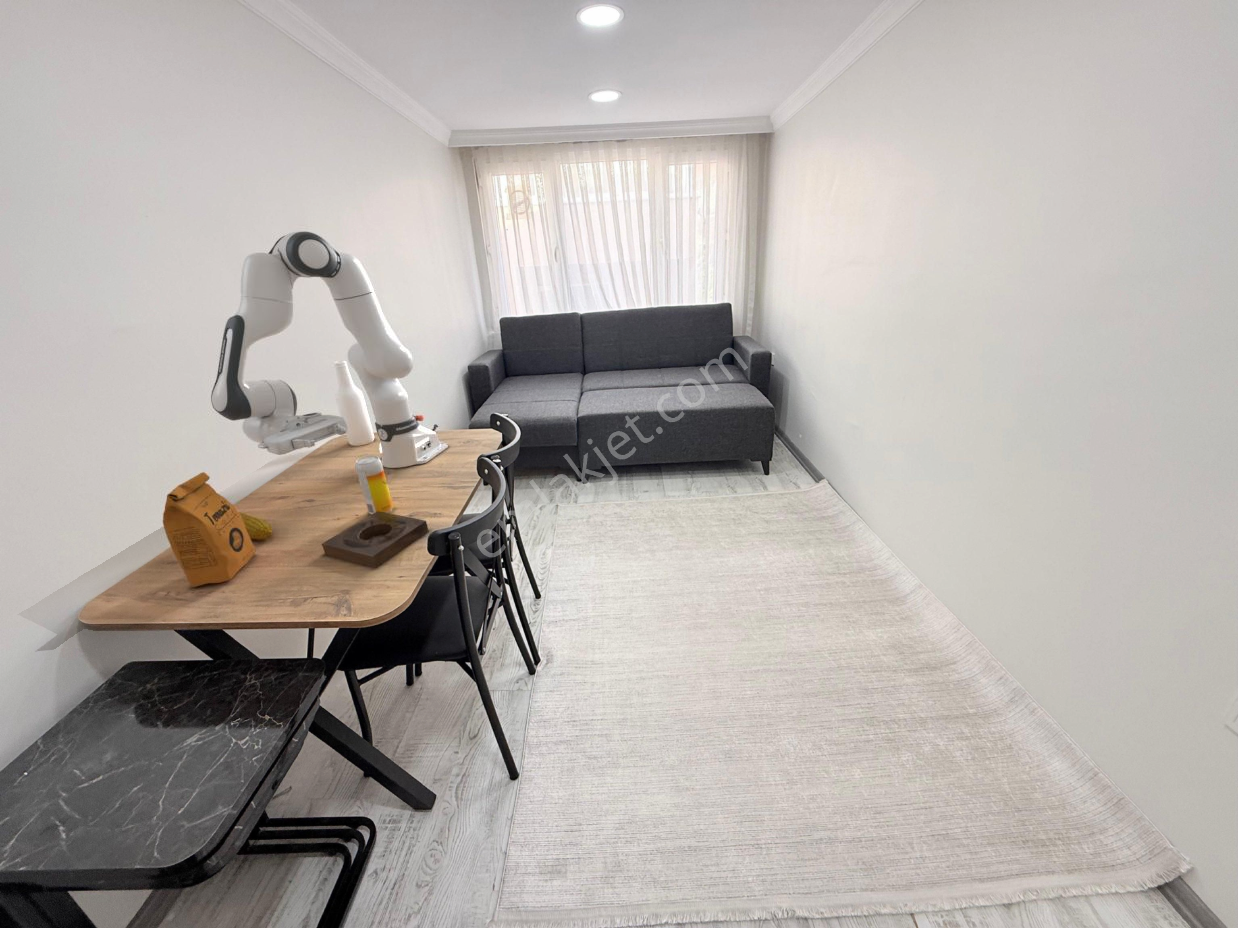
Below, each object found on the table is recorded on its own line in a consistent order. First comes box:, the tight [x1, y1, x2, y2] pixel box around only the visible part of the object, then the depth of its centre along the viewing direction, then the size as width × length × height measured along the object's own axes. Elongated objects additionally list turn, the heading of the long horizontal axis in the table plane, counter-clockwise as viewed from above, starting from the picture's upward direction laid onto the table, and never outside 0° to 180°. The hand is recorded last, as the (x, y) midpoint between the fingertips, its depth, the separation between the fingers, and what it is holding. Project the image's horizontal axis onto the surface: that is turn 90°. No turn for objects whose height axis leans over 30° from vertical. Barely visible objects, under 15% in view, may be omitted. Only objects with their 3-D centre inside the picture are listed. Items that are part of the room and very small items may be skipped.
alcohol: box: [333, 360, 376, 447], centre depth 177 cm, size 9×9×30 cm
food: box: [238, 511, 274, 541], centre depth 122 cm, size 21×6×6 cm, turn 69°
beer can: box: [354, 455, 394, 515], centre depth 128 cm, size 6×6×15 cm
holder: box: [321, 511, 429, 569], centre depth 116 cm, size 16×16×3 cm
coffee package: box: [162, 471, 256, 588], centre depth 105 cm, size 10×12×22 cm
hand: (328, 437), depth 128 cm, fingers open, 8 cm apart
